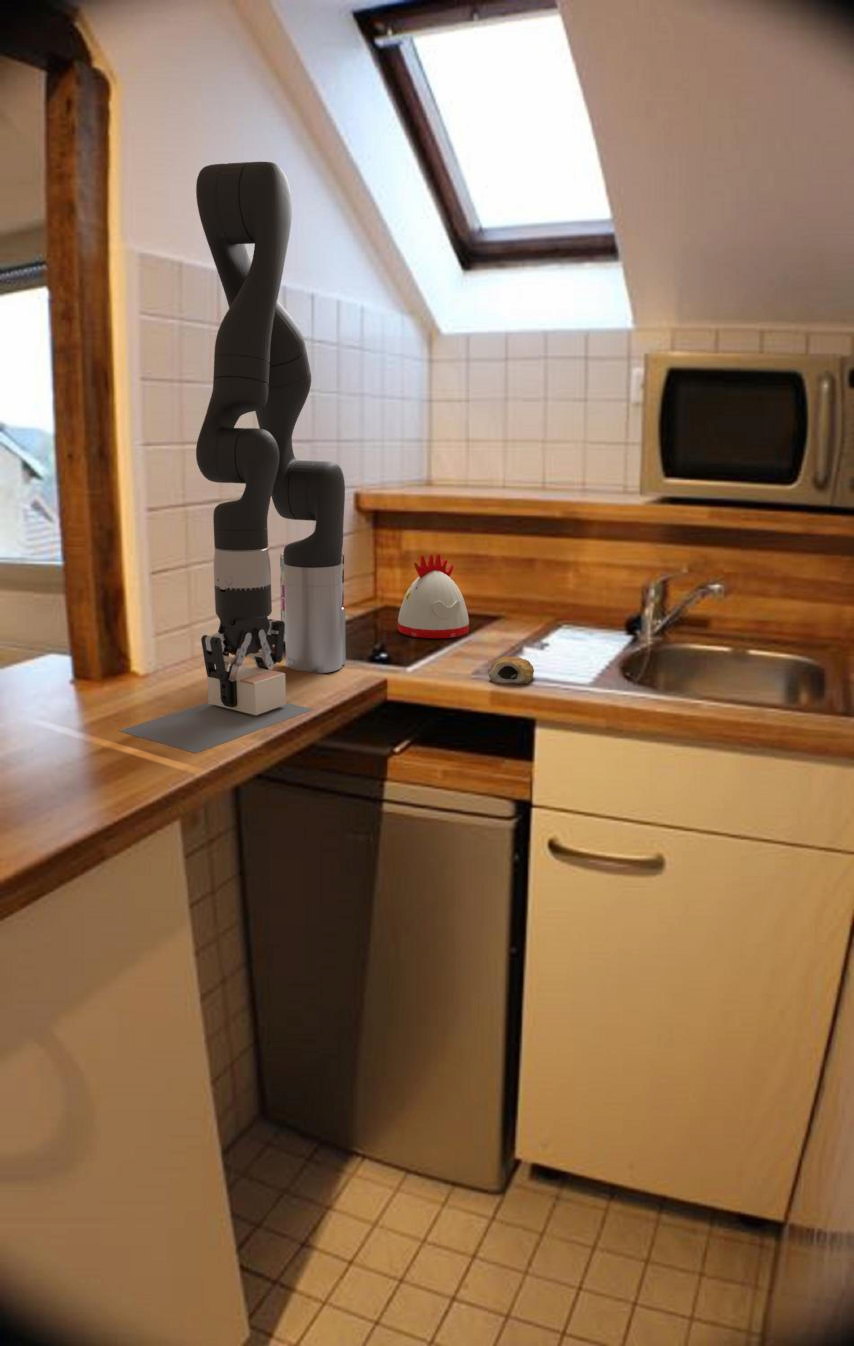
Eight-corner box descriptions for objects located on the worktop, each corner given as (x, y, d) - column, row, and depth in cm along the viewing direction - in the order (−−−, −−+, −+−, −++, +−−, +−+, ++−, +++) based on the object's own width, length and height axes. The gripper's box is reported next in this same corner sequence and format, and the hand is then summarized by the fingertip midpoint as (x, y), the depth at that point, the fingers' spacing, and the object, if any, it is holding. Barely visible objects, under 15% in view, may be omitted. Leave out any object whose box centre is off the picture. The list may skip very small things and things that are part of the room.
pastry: (499, 669, 156) (500, 647, 155) (539, 673, 154) (540, 650, 153) (487, 683, 147) (487, 660, 146) (529, 687, 146) (530, 664, 145)
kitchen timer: (387, 625, 186) (387, 550, 182) (448, 621, 192) (450, 548, 188) (415, 640, 174) (416, 560, 170) (480, 635, 180) (483, 557, 176)
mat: (241, 695, 137) (240, 691, 137) (314, 713, 130) (314, 709, 130) (119, 735, 120) (118, 730, 119) (195, 757, 112) (195, 753, 112)
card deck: (239, 693, 135) (238, 662, 134) (286, 704, 130) (285, 673, 129) (208, 703, 130) (206, 672, 129) (255, 715, 125) (254, 682, 124)
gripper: (259, 571, 133) (262, 684, 138) (182, 585, 122) (189, 708, 126) (299, 576, 129) (301, 693, 134) (223, 592, 118) (229, 718, 122)
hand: (247, 699), depth 130 cm, fingers closed on card deck, 6 cm apart
